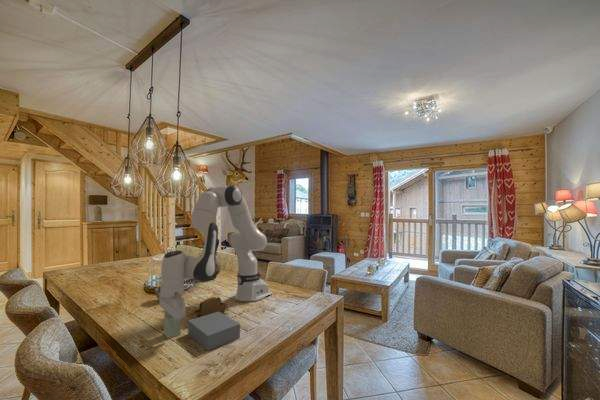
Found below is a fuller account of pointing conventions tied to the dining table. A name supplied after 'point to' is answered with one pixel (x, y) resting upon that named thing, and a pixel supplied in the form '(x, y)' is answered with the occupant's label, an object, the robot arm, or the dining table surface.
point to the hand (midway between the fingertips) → (171, 323)
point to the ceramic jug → (216, 263)
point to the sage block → (171, 327)
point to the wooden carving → (210, 307)
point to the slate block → (213, 330)
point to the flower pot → (157, 292)
